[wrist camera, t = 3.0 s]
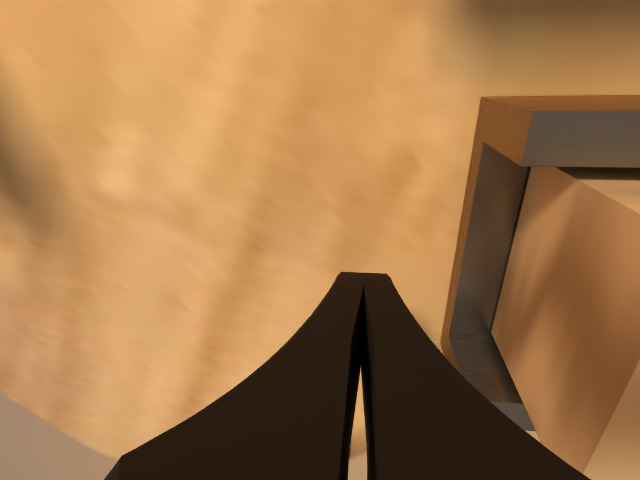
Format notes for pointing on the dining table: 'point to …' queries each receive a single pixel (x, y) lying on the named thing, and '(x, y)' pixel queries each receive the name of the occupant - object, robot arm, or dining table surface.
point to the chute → (504, 209)
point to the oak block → (577, 316)
